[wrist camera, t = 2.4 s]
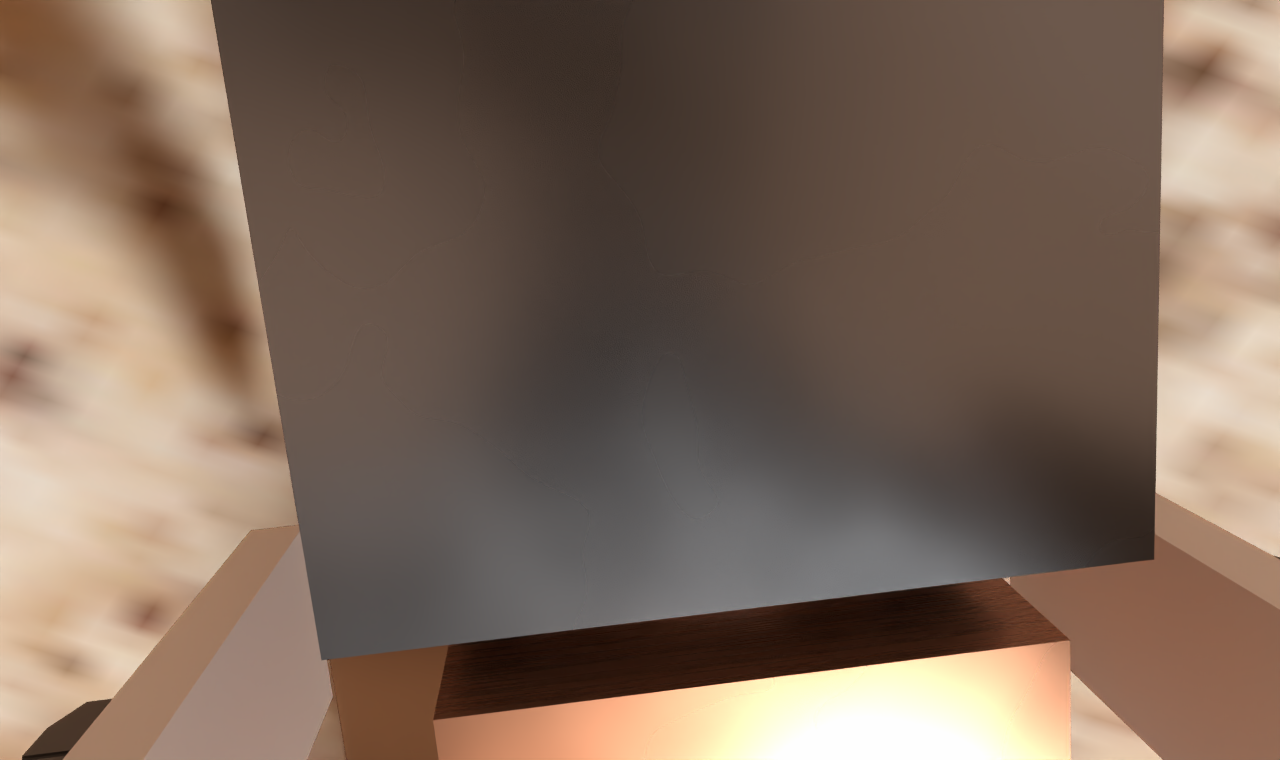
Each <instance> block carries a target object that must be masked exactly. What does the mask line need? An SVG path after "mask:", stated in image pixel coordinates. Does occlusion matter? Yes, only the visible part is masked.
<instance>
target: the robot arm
mask: <svg viewBox="0 0 1280 760" xmlns="http://www.w3.org/2000/svg"><path fill="white" fill-rule="evenodd" d="M1010 586H1011V587H1012V588H1014V589H1015V590H1016V591H1017V592H1018V593H1019V594H1020V595H1021V596H1022V597H1023V598H1025V599H1026V600H1027V601H1028V602H1029V603H1030V604H1031V605H1032V606H1033V607H1034V608H1036V609H1037V610H1038V611H1039V612H1040V613H1041V614H1042V615H1043V616H1044V617H1045V618H1047V619H1048V620H1049V621H1050V622H1051V623H1052V624H1053V625H1054V626H1055V627H1056V628H1058V629H1059V630H1060V631H1061V632H1062V633H1063V634H1064V635H1065V636H1066V637H1067V638H1069V639H1070V670H1071V671H1072V672H1073V673H1074V674H1075V675H1076V676H1077V677H1078V678H1079V679H1080V680H1081V681H1082V682H1083V683H1084V684H1085V685H1086V686H1087V687H1088V688H1089V689H1090V690H1091V691H1092V692H1093V693H1094V694H1095V695H1096V696H1098V697H1099V698H1100V699H1101V700H1102V701H1103V702H1104V703H1105V704H1106V705H1107V706H1108V707H1109V708H1110V709H1111V710H1112V711H1113V712H1114V713H1115V714H1116V715H1117V716H1118V717H1119V718H1120V719H1121V720H1122V721H1123V722H1124V723H1126V724H1127V725H1128V726H1129V727H1130V728H1131V729H1132V730H1133V731H1134V732H1135V733H1136V734H1137V735H1138V736H1139V737H1140V738H1141V739H1142V740H1143V741H1144V742H1145V743H1146V744H1147V745H1148V746H1149V747H1150V748H1151V749H1152V750H1154V751H1155V752H1156V753H1157V754H1158V755H1159V756H1160V757H1161V758H1162V759H1163V760H1280V558H1279V557H1276V556H1273V555H1271V554H1269V553H1267V552H1265V551H1263V550H1261V549H1259V548H1258V547H1256V546H1254V545H1252V544H1250V543H1248V542H1246V541H1244V540H1243V539H1241V538H1239V537H1237V536H1235V535H1233V534H1231V533H1230V532H1228V531H1226V530H1224V529H1222V528H1220V527H1218V526H1217V525H1215V524H1213V523H1211V522H1209V521H1207V520H1205V519H1203V518H1202V517H1200V516H1198V515H1196V514H1194V513H1192V512H1190V511H1189V510H1187V509H1185V508H1183V507H1181V506H1179V505H1177V504H1176V503H1174V502H1172V501H1170V500H1168V499H1166V498H1164V497H1162V496H1161V495H1159V494H1157V493H1155V542H1154V560H1147V561H1138V562H1130V563H1122V564H1114V565H1105V566H1097V567H1089V568H1080V569H1072V570H1064V571H1056V572H1047V573H1039V574H1031V575H1023V576H1014V577H1010ZM332 698H333V694H332V688H331V682H330V676H329V670H328V664H327V660H321V655H320V649H319V643H318V637H317V631H316V625H315V619H314V613H313V607H312V601H311V595H310V589H309V583H308V577H307V571H306V565H305V559H304V553H303V547H302V541H301V535H300V529H299V525H294V526H285V527H276V528H268V529H259V530H251V531H250V532H249V533H248V534H247V536H246V537H245V538H244V539H243V541H242V542H241V543H240V544H239V545H238V547H237V548H236V549H235V550H234V552H233V553H232V554H231V555H230V556H229V558H228V559H227V560H226V561H225V562H224V564H223V565H222V566H221V567H220V569H219V570H218V571H217V572H216V573H215V575H214V576H213V577H212V578H211V580H210V581H209V582H208V583H207V584H206V586H205V587H204V588H203V589H202V591H201V592H200V593H199V594H198V595H197V597H196V598H195V599H194V600H193V601H192V603H191V604H190V605H189V606H188V608H187V609H186V610H185V611H184V612H183V614H182V615H181V616H180V617H179V619H178V620H177V621H176V622H175V623H174V625H173V626H172V627H171V628H170V629H169V631H168V632H167V633H166V634H165V636H164V637H163V638H162V639H161V640H160V642H159V643H158V644H157V645H156V647H155V648H154V649H153V650H152V651H151V653H150V654H149V655H148V656H147V657H146V659H145V660H144V661H143V662H142V664H141V665H140V666H139V667H138V668H137V670H136V671H135V672H134V673H133V675H132V676H131V677H130V678H129V679H128V681H127V682H126V683H125V684H124V686H123V687H122V688H121V689H120V690H119V692H118V693H117V694H116V695H115V696H114V698H113V699H107V700H99V701H91V702H86V703H85V704H83V705H82V706H80V707H79V708H77V709H76V710H74V711H73V712H71V713H70V714H68V715H67V716H65V717H64V718H62V719H60V720H59V721H57V722H56V723H54V724H53V725H51V726H50V727H48V728H47V729H46V730H45V731H44V732H43V733H42V735H41V736H40V737H39V738H38V739H37V740H36V741H35V742H34V744H33V745H32V746H31V747H30V748H29V749H28V750H27V751H26V752H25V754H24V755H23V756H22V760H307V759H308V756H309V754H310V752H311V749H312V747H313V744H314V742H315V739H316V737H317V734H318V732H319V730H320V727H321V725H322V722H323V720H324V717H325V715H326V712H327V710H328V707H329V705H330V703H331V700H332Z"/></svg>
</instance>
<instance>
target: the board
mask: <svg viewBox="0 0 1280 760" xmlns="http://www.w3.org/2000/svg"><path fill="white" fill-rule="evenodd" d="M448 646H449V645H444V646H436V647H427V648H419V649H411V650H403V651H394V652H386V653H378V654H369V655H361V656H353V657H345V658H336V659H330V663H331V669H332V675H333V681H334V687H335V694H336V700H337V706H338V712H339V718H340V724H341V730H342V736H343V742H344V748H345V754H346V760H439V758H438V752H437V745H436V738H435V731H434V724H433V718H434V713H435V708H436V704H437V699H438V694H439V689H440V684H441V680H442V675H443V670H444V665H445V661H446V656H447V651H448Z"/></svg>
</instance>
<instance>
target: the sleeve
mask: <svg viewBox="0 0 1280 760" xmlns="http://www.w3.org/2000/svg"><path fill="white" fill-rule="evenodd" d="M211 4H212V10H213V16H214V22H215V28H216V34H217V40H218V46H219V52H220V58H221V64H222V70H223V76H224V82H225V87H226V93H227V99H228V105H229V111H230V117H231V123H232V129H233V135H234V141H235V147H236V153H237V159H238V165H239V171H240V177H241V183H242V189H243V195H244V201H245V207H246V213H247V219H248V225H249V231H250V237H251V243H252V249H253V255H254V261H255V267H256V272H257V278H258V284H259V290H260V296H261V302H262V308H263V314H264V320H265V326H266V332H267V338H268V344H269V350H270V356H271V362H272V368H273V374H274V380H275V386H276V392H277V398H278V404H279V410H280V416H281V422H282V428H283V434H284V440H285V446H286V452H287V458H288V464H289V469H290V475H291V481H292V487H293V493H294V499H295V505H296V511H297V517H298V523H299V529H300V535H301V541H302V547H303V553H304V559H305V565H306V571H307V577H308V583H309V589H310V595H311V601H312V607H313V613H314V619H315V625H316V631H317V637H318V643H319V649H320V655H321V660H328V659H336V658H345V657H353V656H361V655H369V654H378V653H386V652H394V651H403V650H411V649H419V648H427V647H436V646H444V645H452V644H460V643H469V642H477V641H485V640H494V639H502V638H510V637H518V636H527V635H535V634H543V633H551V632H560V631H568V630H576V629H584V628H593V627H601V626H609V625H618V624H626V623H634V622H642V621H651V620H659V619H667V618H675V617H684V616H692V615H700V614H708V613H717V612H725V611H733V610H742V609H750V608H758V607H766V606H775V605H783V604H791V603H799V602H808V601H816V600H824V599H832V598H841V597H849V596H857V595H866V594H874V593H882V592H890V591H899V590H907V589H915V588H923V587H932V586H940V585H948V584H956V583H965V582H973V581H981V580H990V579H998V578H1006V577H1014V576H1023V575H1031V574H1039V573H1047V572H1056V571H1064V570H1072V569H1080V568H1089V567H1097V566H1105V565H1114V564H1122V563H1130V562H1138V561H1147V560H1154V542H1155V485H1156V427H1157V370H1158V312H1159V255H1160V197H1161V139H1162V82H1163V24H1164V0H211Z"/></svg>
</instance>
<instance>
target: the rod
mask: <svg viewBox="0 0 1280 760" xmlns="http://www.w3.org/2000/svg"><path fill="white" fill-rule="evenodd" d="M433 724H434V731H435V738H436V745H437V752H438V758H439V760H1071V727H1070V639H1069V638H1067V637H1066V636H1065V635H1064V634H1063V633H1062V632H1061V631H1060V630H1059V629H1058V628H1056V627H1055V626H1054V625H1053V624H1052V623H1051V622H1050V621H1049V620H1048V619H1047V618H1045V617H1044V616H1043V615H1042V614H1041V613H1040V612H1039V611H1038V610H1037V609H1036V608H1034V607H1033V606H1032V605H1031V604H1030V603H1029V602H1028V601H1027V600H1026V599H1025V598H1023V597H1022V596H1021V595H1020V594H1019V593H1018V592H1017V591H1016V590H1015V589H1014V588H1012V587H1011V586H1010V585H1009V584H1008V583H1007V582H1006V581H1005V580H1004V579H1003V578H998V579H990V580H981V581H973V582H965V583H956V584H948V585H940V586H932V587H923V588H915V589H907V590H899V591H890V592H882V593H874V594H866V595H857V596H849V597H841V598H832V599H824V600H816V601H808V602H799V603H791V604H783V605H775V606H766V607H758V608H750V609H742V610H733V611H725V612H717V613H708V614H700V615H692V616H684V617H675V618H667V619H659V620H651V621H642V622H634V623H626V624H618V625H609V626H601V627H593V628H584V629H576V630H568V631H560V632H551V633H543V634H535V635H527V636H518V637H510V638H502V639H494V640H485V641H477V642H469V643H460V644H452V645H449V646H448V651H447V656H446V661H445V665H444V670H443V675H442V680H441V684H440V689H439V694H438V699H437V704H436V708H435V713H434V718H433Z"/></svg>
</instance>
